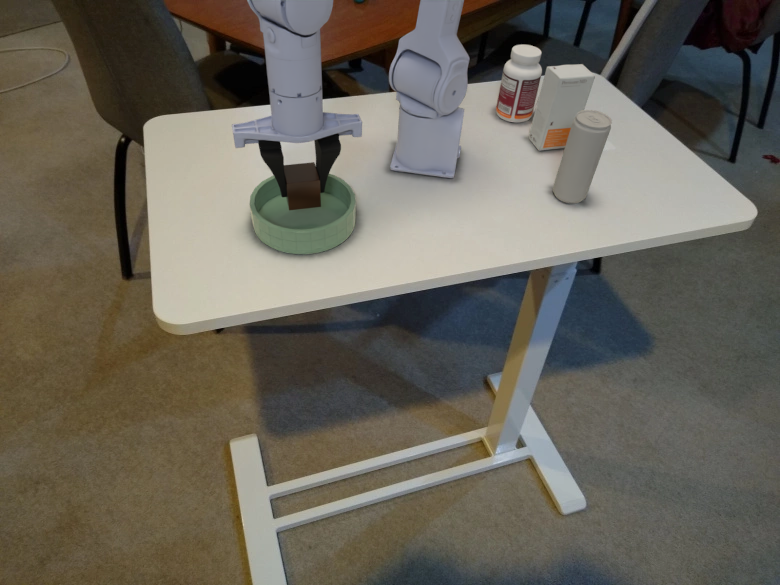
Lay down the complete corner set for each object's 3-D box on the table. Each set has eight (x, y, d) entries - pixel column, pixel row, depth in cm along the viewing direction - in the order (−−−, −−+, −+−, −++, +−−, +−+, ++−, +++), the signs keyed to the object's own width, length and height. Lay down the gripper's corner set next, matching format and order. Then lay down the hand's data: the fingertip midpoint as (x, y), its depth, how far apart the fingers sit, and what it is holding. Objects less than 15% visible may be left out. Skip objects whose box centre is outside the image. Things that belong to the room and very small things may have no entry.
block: (315, 188, 74) (314, 161, 71) (321, 207, 71) (320, 180, 68) (284, 192, 73) (282, 165, 70) (289, 210, 70) (286, 183, 67)
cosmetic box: (538, 152, 90) (559, 78, 81) (527, 138, 92) (545, 65, 84) (573, 148, 91) (596, 75, 82) (560, 134, 94) (582, 62, 85)
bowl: (363, 198, 79) (364, 176, 76) (343, 261, 69) (343, 239, 67) (270, 185, 80) (268, 163, 77) (238, 245, 70) (234, 223, 68)
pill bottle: (531, 108, 100) (547, 45, 92) (531, 126, 95) (547, 60, 87) (495, 103, 100) (508, 40, 92) (493, 120, 96) (506, 55, 88)
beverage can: (564, 208, 80) (590, 130, 71) (544, 189, 83) (567, 112, 74) (592, 201, 81) (621, 124, 72) (571, 182, 84) (597, 106, 76)
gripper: (353, 65, 66) (352, 166, 75) (223, 73, 63) (240, 178, 72) (367, 93, 61) (364, 198, 71) (228, 104, 58) (245, 211, 67)
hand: (302, 190), depth 71 cm, fingers closed on block, 4 cm apart
